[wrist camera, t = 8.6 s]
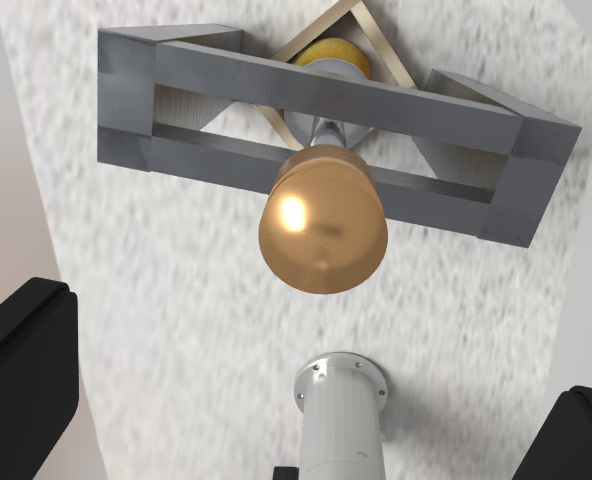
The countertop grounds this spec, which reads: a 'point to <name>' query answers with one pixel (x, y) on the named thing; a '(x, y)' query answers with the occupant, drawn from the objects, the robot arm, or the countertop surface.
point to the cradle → (353, 3)
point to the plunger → (324, 205)
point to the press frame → (336, 106)
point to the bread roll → (333, 53)
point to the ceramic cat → (285, 473)
